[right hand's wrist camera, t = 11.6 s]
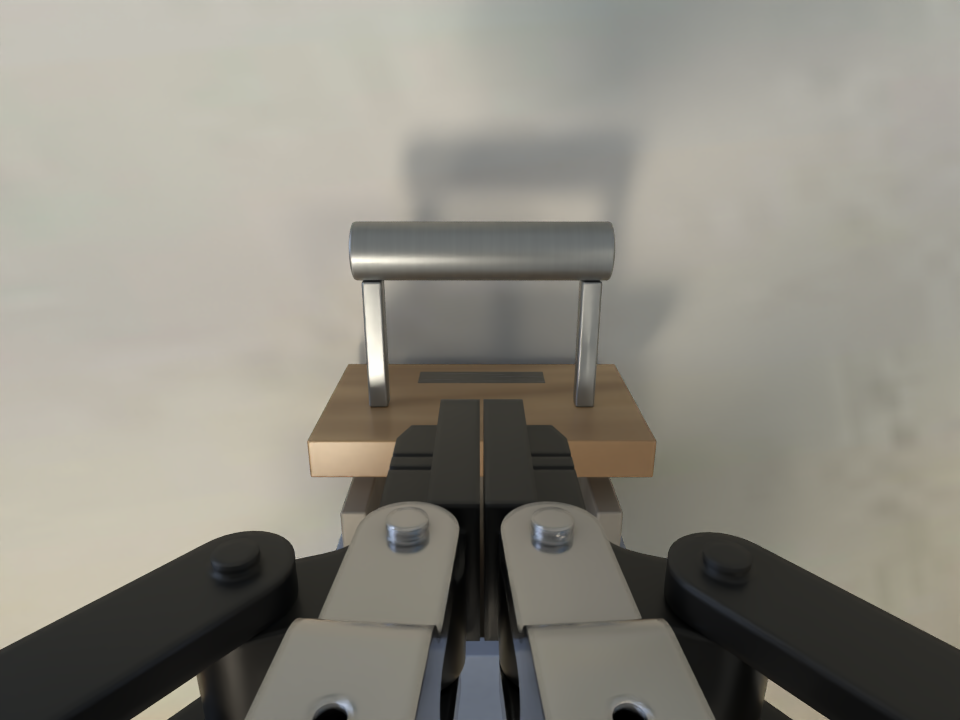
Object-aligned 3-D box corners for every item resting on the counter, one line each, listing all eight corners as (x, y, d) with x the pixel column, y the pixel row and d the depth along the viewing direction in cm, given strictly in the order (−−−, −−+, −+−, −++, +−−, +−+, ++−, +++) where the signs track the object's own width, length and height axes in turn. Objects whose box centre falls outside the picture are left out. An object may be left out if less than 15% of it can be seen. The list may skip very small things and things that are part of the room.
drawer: (336, 205, 22) (286, 236, 17) (627, 205, 22) (678, 237, 17) (367, 631, 29) (339, 762, 23) (594, 631, 29) (623, 762, 23)
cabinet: (349, 509, 28) (300, 656, 20) (613, 509, 28) (663, 655, 20) (367, 747, 32) (333, 938, 25) (593, 747, 32) (628, 938, 25)
